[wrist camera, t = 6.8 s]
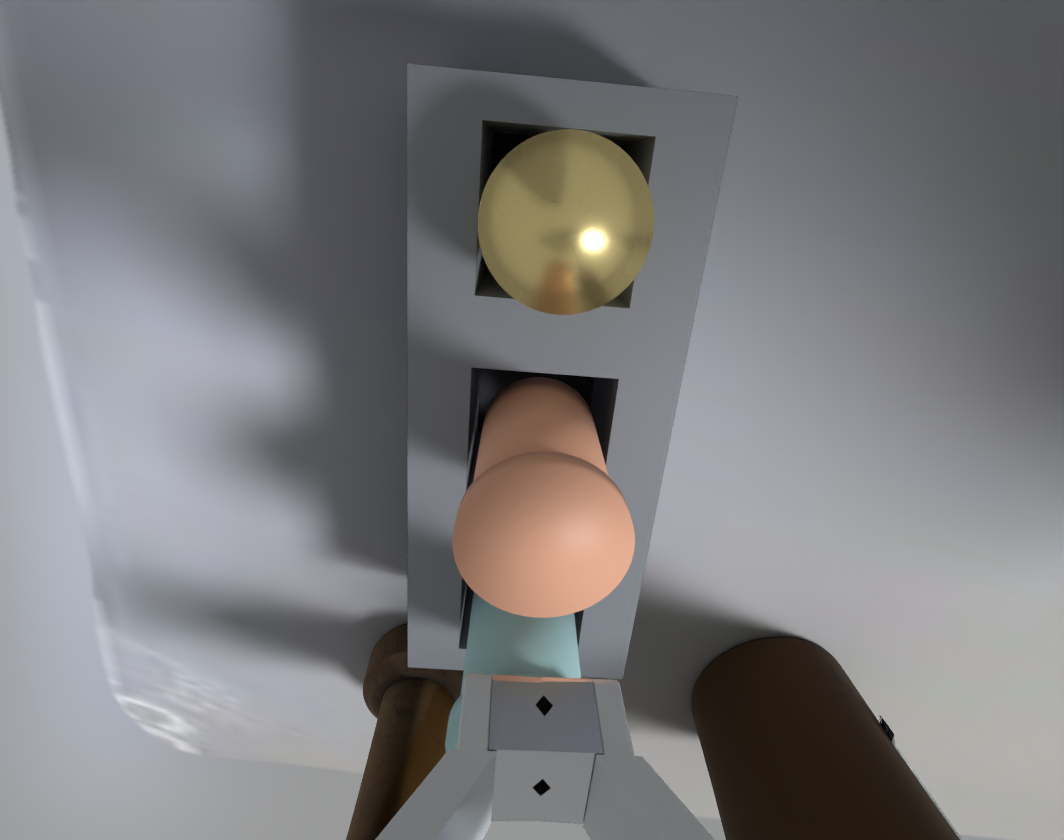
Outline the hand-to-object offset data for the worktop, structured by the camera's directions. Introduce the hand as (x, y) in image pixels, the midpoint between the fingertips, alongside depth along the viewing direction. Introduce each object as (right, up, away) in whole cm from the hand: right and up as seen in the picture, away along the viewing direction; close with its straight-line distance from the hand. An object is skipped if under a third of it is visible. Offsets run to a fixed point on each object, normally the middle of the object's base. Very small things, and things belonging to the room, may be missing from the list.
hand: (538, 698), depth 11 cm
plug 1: (+1, +14, +12) cm, 19 cm away
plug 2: (0, +5, +12) cm, 13 cm away
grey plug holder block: (0, +7, +16) cm, 18 cm away
